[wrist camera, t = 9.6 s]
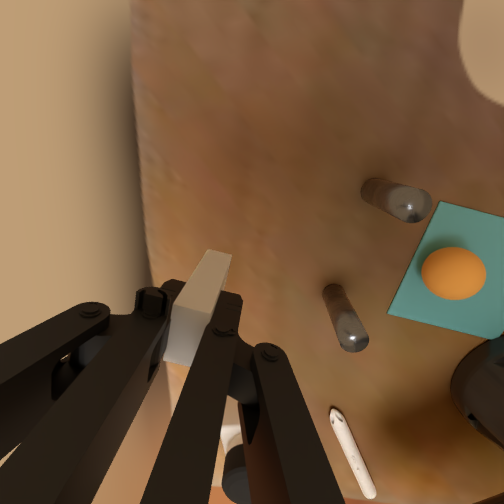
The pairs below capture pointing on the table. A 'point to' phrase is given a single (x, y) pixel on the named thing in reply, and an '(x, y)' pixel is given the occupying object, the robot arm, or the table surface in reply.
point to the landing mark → (466, 310)
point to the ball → (453, 273)
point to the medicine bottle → (234, 456)
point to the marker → (352, 453)
